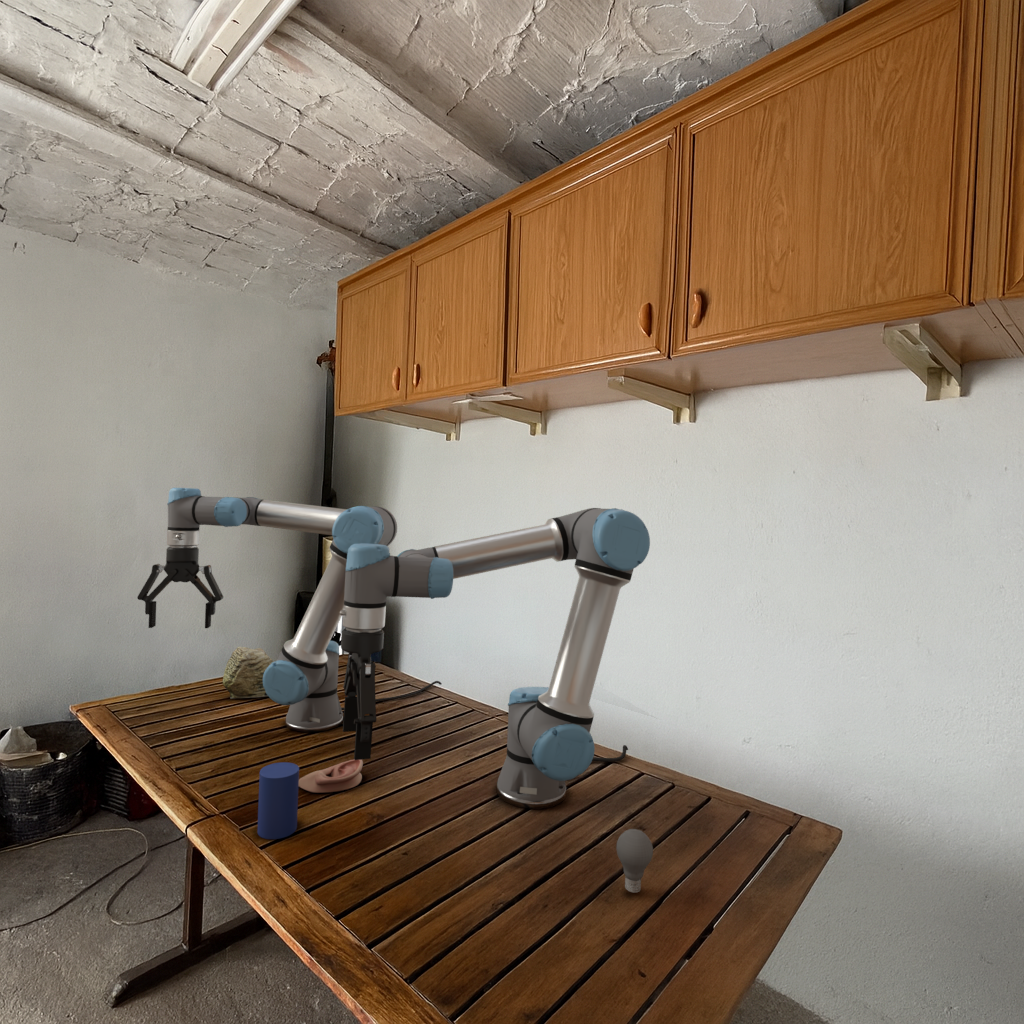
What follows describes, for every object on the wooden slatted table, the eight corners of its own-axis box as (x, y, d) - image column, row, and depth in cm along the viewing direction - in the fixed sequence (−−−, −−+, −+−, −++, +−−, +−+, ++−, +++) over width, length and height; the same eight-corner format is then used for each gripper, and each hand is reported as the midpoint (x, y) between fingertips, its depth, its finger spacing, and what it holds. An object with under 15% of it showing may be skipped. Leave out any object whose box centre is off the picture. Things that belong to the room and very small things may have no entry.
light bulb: (610, 879, 108) (613, 822, 108) (644, 879, 109) (647, 822, 109) (619, 902, 102) (622, 840, 102) (655, 901, 103) (658, 840, 103)
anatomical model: (289, 770, 136) (316, 750, 147) (288, 789, 136) (315, 767, 147) (346, 778, 133) (369, 757, 145) (345, 797, 133) (368, 774, 145)
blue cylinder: (273, 843, 115) (275, 781, 115) (249, 831, 119) (251, 771, 119) (304, 827, 121) (307, 768, 121) (280, 816, 125) (282, 759, 125)
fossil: (218, 695, 195) (220, 647, 195) (278, 685, 208) (279, 640, 207) (228, 703, 189) (230, 653, 188) (289, 692, 201) (290, 645, 201)
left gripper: (124, 546, 160) (122, 629, 161) (229, 549, 165) (226, 630, 165) (136, 544, 168) (134, 623, 168) (236, 546, 172) (234, 624, 172)
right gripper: (333, 615, 126) (326, 722, 126) (353, 644, 103) (345, 774, 103) (371, 615, 129) (364, 719, 129) (399, 643, 106) (390, 769, 106)
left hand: (180, 627), depth 167 cm, fingers open, 13 cm apart
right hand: (355, 744), depth 116 cm, fingers open, 13 cm apart
